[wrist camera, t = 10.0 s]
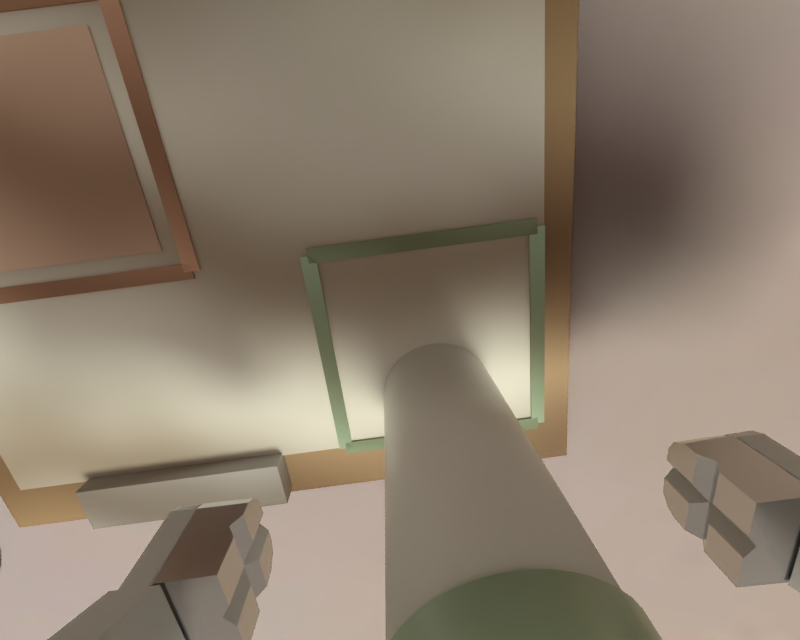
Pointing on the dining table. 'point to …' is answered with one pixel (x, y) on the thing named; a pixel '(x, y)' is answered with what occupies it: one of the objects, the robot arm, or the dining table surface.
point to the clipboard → (269, 237)
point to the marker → (483, 519)
